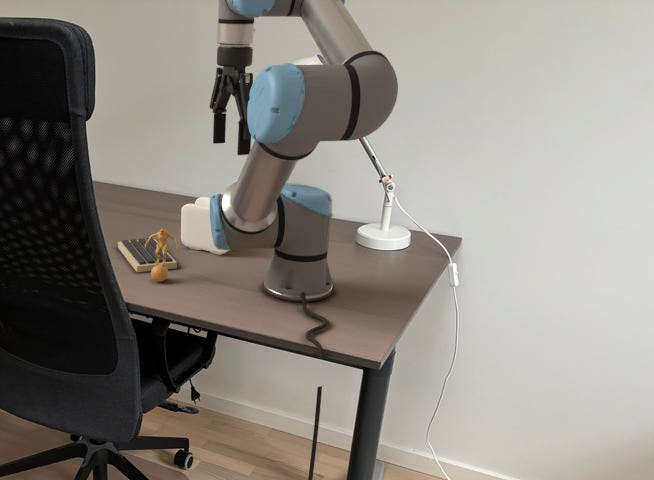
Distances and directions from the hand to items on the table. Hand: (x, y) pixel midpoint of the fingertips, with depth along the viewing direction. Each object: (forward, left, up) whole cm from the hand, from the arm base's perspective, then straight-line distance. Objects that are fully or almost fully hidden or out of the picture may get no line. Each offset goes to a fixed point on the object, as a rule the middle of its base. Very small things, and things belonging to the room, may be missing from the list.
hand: (230, 148), depth 165 cm
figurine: (-2, +17, -29) cm, 34 cm away
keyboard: (+14, +16, -29) cm, 36 cm away
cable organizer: (+18, -3, -29) cm, 34 cm away
